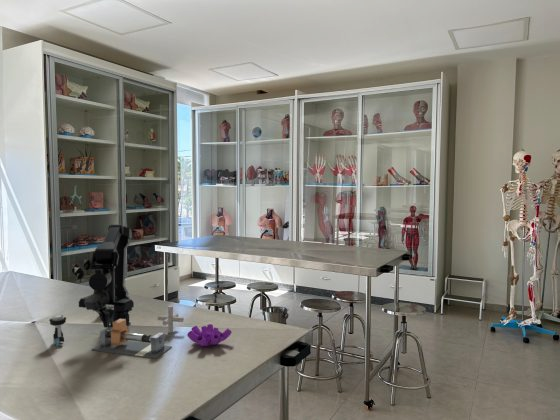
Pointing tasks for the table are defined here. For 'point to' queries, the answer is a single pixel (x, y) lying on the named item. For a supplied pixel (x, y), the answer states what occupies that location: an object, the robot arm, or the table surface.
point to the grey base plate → (132, 349)
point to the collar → (118, 332)
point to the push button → (58, 329)
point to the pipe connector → (170, 319)
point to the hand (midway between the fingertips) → (106, 327)
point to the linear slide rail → (134, 339)
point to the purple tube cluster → (208, 335)
